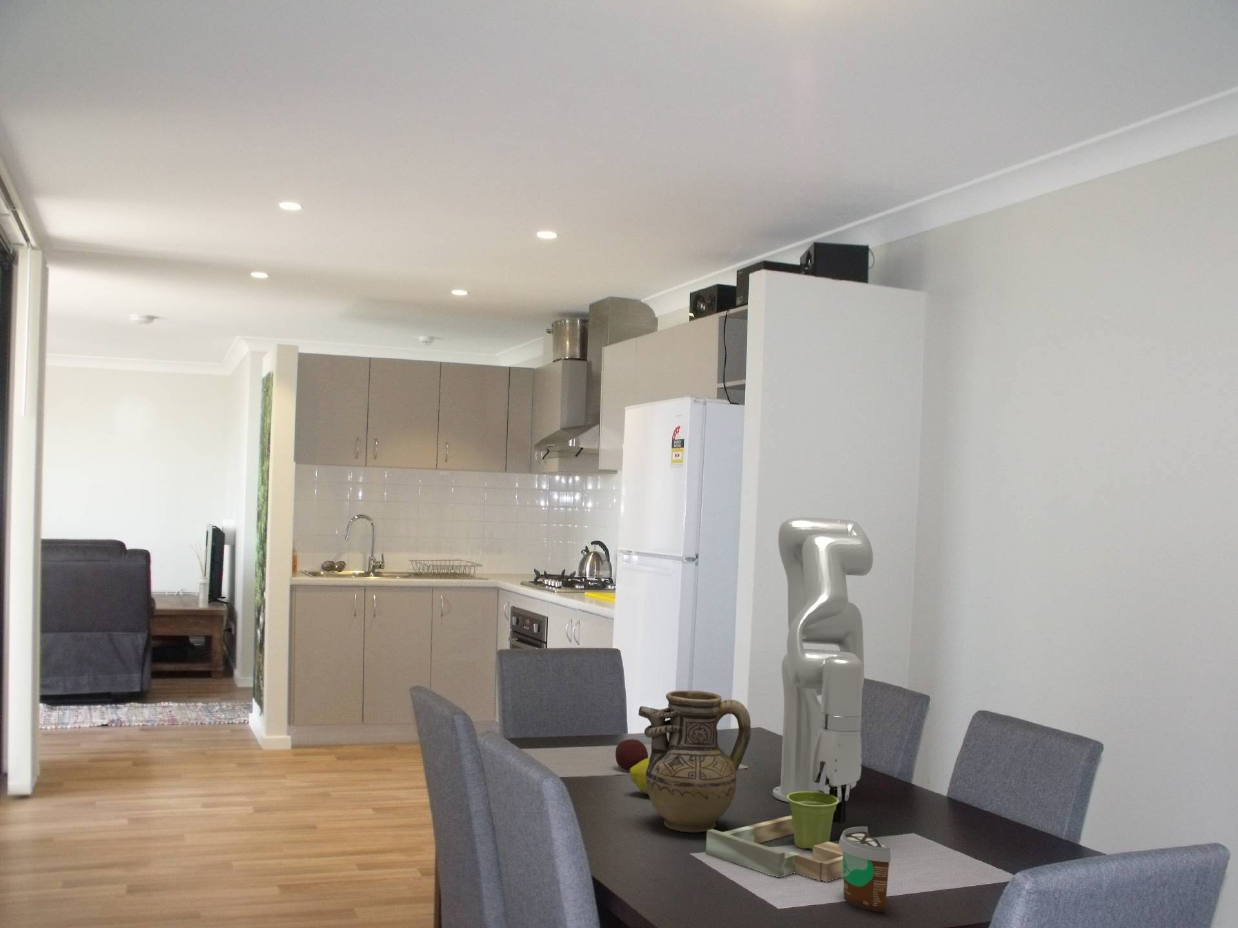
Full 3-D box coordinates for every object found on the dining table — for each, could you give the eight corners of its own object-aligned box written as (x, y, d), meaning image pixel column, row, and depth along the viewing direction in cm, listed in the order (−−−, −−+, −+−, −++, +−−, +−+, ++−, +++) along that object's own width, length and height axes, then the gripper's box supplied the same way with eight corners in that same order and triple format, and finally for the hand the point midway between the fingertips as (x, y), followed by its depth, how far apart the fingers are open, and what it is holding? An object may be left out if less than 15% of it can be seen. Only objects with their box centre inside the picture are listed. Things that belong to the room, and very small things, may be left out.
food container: (827, 886, 183) (829, 824, 183) (863, 887, 184) (866, 825, 184) (848, 913, 171) (851, 847, 171) (888, 914, 171) (891, 848, 172)
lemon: (679, 792, 239) (681, 754, 240) (680, 801, 231) (682, 762, 232) (629, 789, 240) (631, 751, 240) (628, 798, 232) (630, 759, 232)
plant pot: (805, 856, 199) (807, 807, 199) (775, 840, 207) (776, 793, 208) (847, 850, 203) (849, 802, 204) (816, 835, 212) (817, 789, 212)
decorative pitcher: (740, 816, 223) (746, 690, 224) (752, 843, 205) (758, 705, 206) (631, 811, 222) (638, 684, 223) (633, 837, 205) (640, 699, 206)
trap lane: (797, 829, 216) (798, 808, 216) (897, 858, 200) (898, 836, 200) (705, 853, 197) (706, 830, 197) (807, 888, 181) (808, 863, 182)
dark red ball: (609, 767, 259) (611, 736, 260) (639, 765, 263) (641, 735, 263) (622, 774, 253) (624, 743, 253) (653, 772, 256) (655, 741, 256)
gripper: (846, 716, 219) (841, 810, 218) (800, 723, 209) (796, 822, 208) (879, 722, 214) (875, 819, 213) (834, 730, 203) (829, 832, 203)
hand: (836, 821), depth 211 cm, fingers closed
